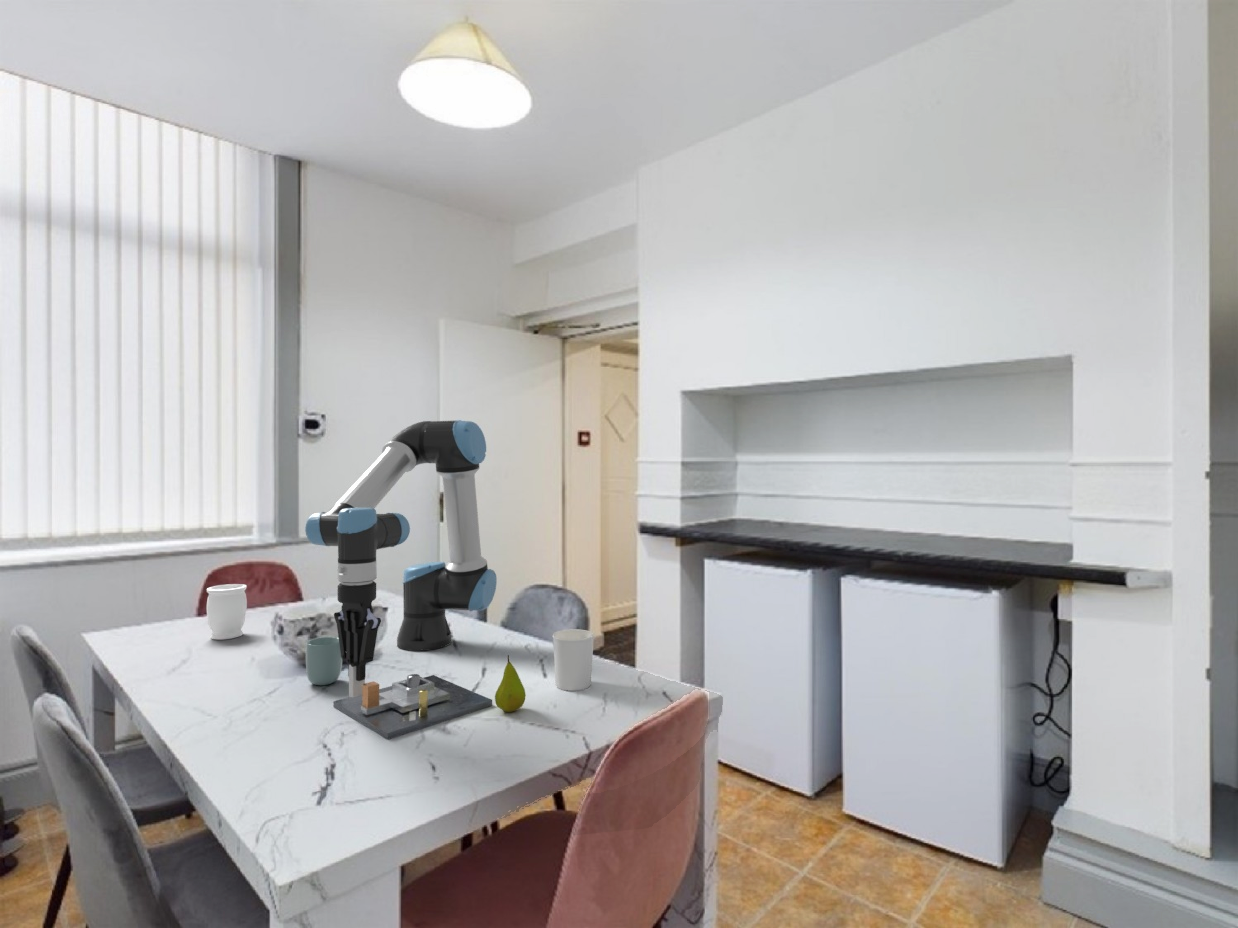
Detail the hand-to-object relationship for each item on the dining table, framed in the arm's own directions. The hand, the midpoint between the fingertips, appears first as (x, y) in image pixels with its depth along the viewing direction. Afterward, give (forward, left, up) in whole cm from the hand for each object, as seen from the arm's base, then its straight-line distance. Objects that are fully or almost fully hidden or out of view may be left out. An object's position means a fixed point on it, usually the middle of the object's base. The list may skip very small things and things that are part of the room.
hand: (356, 694), depth 136 cm
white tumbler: (-43, +19, -4) cm, 48 cm away
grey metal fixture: (-8, +4, -3) cm, 9 cm away
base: (-10, +4, -4) cm, 12 cm away
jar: (0, -88, -4) cm, 88 cm away
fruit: (-23, +21, -4) cm, 32 cm away
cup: (-3, -25, -4) cm, 25 cm away
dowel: (-8, +14, -3) cm, 16 cm away
